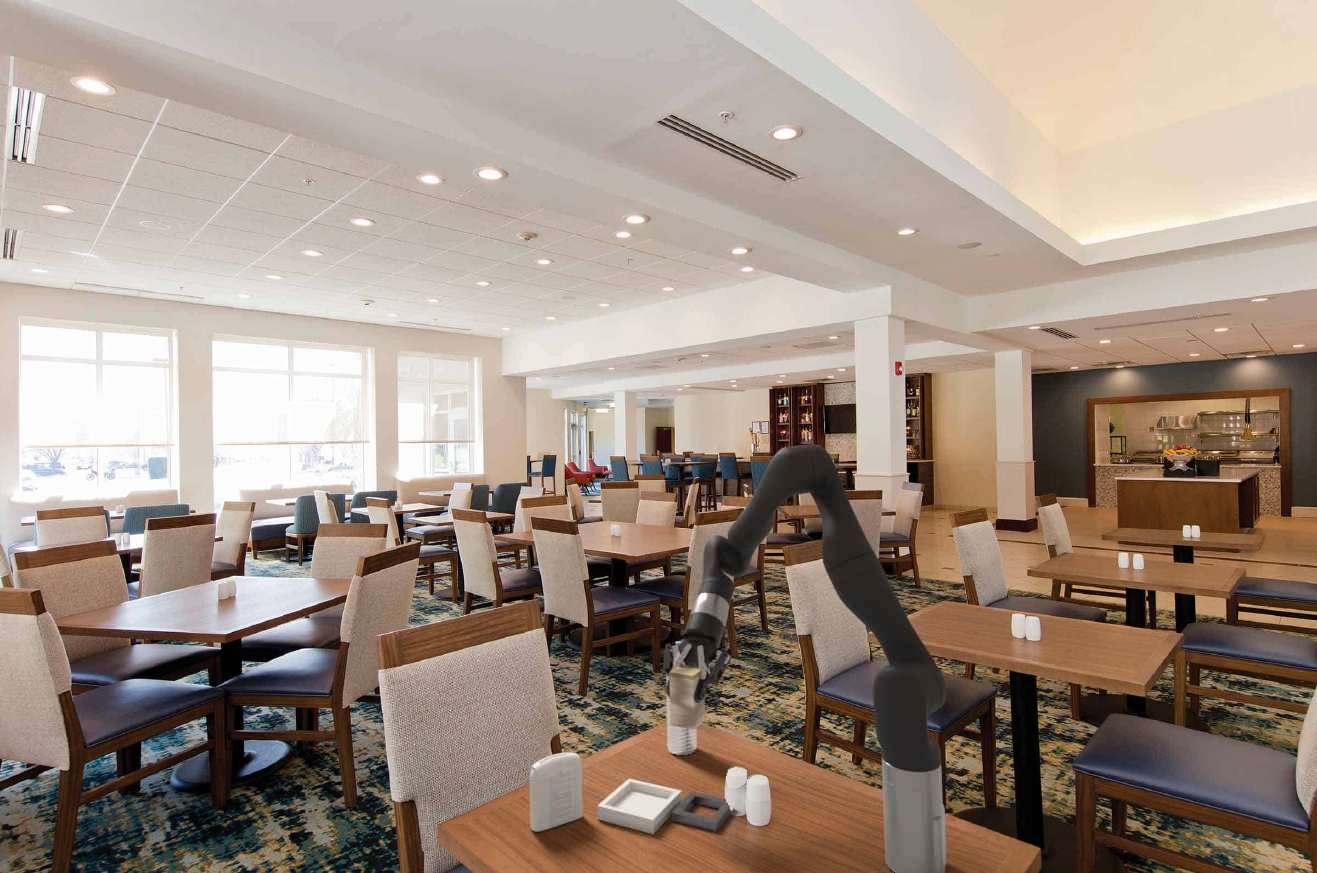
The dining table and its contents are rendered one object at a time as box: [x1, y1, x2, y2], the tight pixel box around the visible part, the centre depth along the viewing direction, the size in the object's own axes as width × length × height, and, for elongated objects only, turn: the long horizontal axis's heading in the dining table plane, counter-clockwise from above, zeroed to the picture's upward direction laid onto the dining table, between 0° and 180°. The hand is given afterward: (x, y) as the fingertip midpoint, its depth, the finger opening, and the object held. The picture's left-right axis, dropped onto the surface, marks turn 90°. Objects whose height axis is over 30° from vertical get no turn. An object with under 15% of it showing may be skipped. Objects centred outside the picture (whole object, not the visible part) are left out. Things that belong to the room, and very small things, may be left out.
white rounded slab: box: [529, 752, 584, 833], centre depth 128 cm, size 10×4×12 cm, turn 123°
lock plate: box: [671, 791, 732, 833], centre depth 129 cm, size 9×9×2 cm
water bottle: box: [665, 640, 698, 756], centre depth 158 cm, size 7×7×25 cm
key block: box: [669, 665, 706, 729], centre depth 130 cm, size 5×5×10 cm
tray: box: [596, 778, 683, 835], centre depth 131 cm, size 12×12×2 cm
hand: (683, 698), depth 129 cm, fingers closed on key block, 5 cm apart
